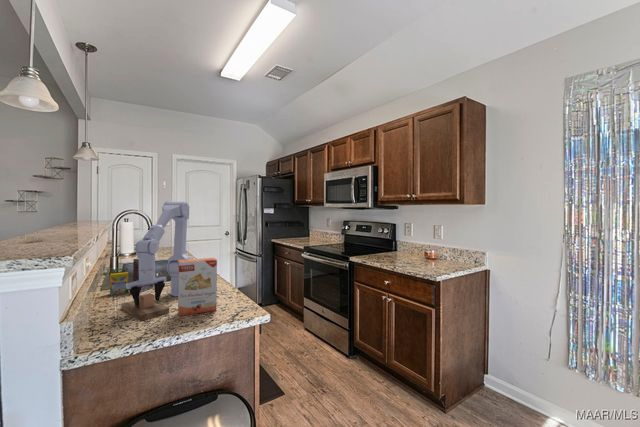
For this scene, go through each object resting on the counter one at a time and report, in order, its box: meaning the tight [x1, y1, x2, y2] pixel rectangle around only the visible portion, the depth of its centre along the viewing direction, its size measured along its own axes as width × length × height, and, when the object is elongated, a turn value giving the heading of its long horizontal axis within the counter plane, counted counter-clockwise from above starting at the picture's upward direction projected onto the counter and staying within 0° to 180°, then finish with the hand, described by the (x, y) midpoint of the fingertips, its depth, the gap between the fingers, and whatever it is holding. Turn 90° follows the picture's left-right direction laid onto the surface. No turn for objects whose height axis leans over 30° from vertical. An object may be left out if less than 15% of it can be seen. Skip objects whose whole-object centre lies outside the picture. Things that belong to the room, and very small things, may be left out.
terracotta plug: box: [139, 292, 155, 309], centre depth 120 cm, size 4×4×6 cm
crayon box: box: [109, 267, 130, 296], centre depth 142 cm, size 7×3×12 cm, turn 126°
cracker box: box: [177, 257, 218, 317], centre depth 119 cm, size 14×6×21 cm, turn 117°
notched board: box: [120, 300, 170, 321], centre depth 120 cm, size 10×20×2 cm, turn 52°
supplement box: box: [132, 257, 154, 293], centre depth 149 cm, size 9×5×16 cm, turn 168°
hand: (147, 302), depth 120 cm, fingers open, 7 cm apart
